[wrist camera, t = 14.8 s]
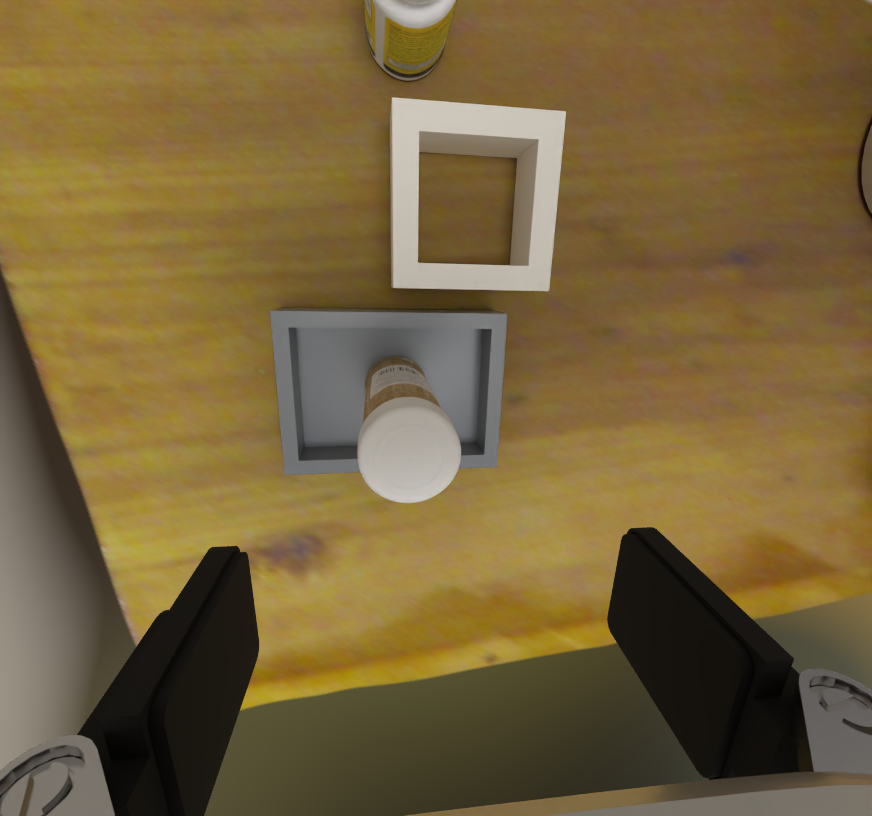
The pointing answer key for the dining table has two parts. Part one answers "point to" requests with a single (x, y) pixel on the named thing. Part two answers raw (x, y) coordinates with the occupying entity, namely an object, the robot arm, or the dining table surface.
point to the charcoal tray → (355, 355)
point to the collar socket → (480, 136)
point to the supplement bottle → (407, 34)
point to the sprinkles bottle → (405, 434)
